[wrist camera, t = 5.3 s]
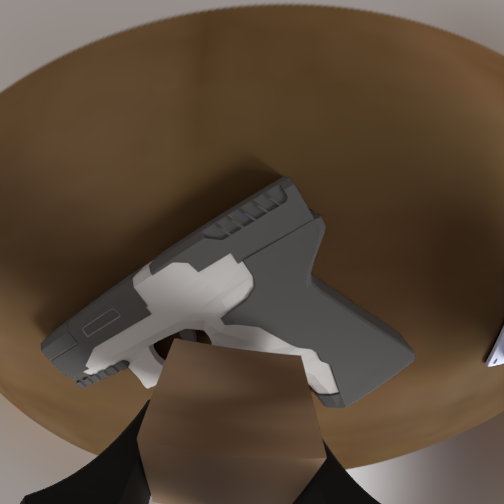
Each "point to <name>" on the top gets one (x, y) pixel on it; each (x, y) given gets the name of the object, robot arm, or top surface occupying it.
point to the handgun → (236, 305)
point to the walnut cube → (230, 428)
